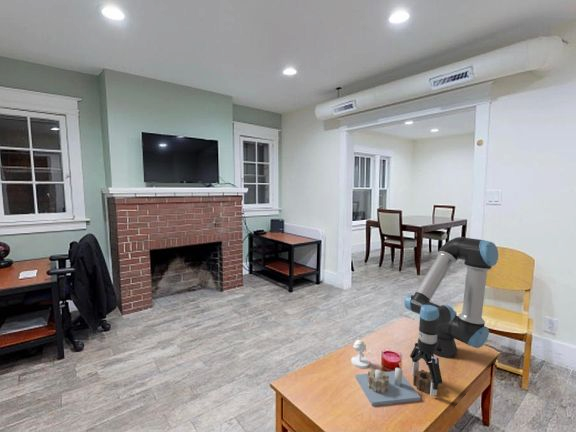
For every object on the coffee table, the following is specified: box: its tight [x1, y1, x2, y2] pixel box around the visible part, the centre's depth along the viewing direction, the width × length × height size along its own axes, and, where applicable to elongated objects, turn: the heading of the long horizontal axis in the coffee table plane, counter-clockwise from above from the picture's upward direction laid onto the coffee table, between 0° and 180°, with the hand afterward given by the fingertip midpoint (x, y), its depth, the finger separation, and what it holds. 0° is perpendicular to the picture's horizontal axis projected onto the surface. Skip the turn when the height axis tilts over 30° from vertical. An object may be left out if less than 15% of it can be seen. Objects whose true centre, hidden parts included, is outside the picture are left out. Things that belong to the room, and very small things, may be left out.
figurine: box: [351, 339, 370, 369], centre depth 151 cm, size 9×9×12 cm
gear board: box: [355, 367, 422, 407], centre depth 132 cm, size 22×18×8 cm
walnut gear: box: [412, 369, 432, 394], centre depth 134 cm, size 9×9×5 cm
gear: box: [367, 368, 389, 394], centre depth 132 cm, size 9×9×5 cm
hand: (423, 384), depth 134 cm, fingers open, 13 cm apart
